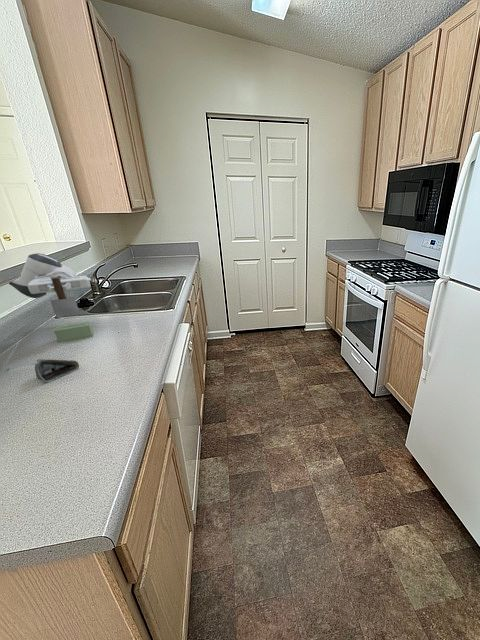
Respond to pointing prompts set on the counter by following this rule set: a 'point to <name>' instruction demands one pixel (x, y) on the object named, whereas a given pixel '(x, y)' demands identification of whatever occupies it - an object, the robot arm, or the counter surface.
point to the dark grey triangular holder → (54, 368)
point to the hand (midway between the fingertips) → (58, 288)
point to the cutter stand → (73, 331)
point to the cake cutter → (63, 301)
